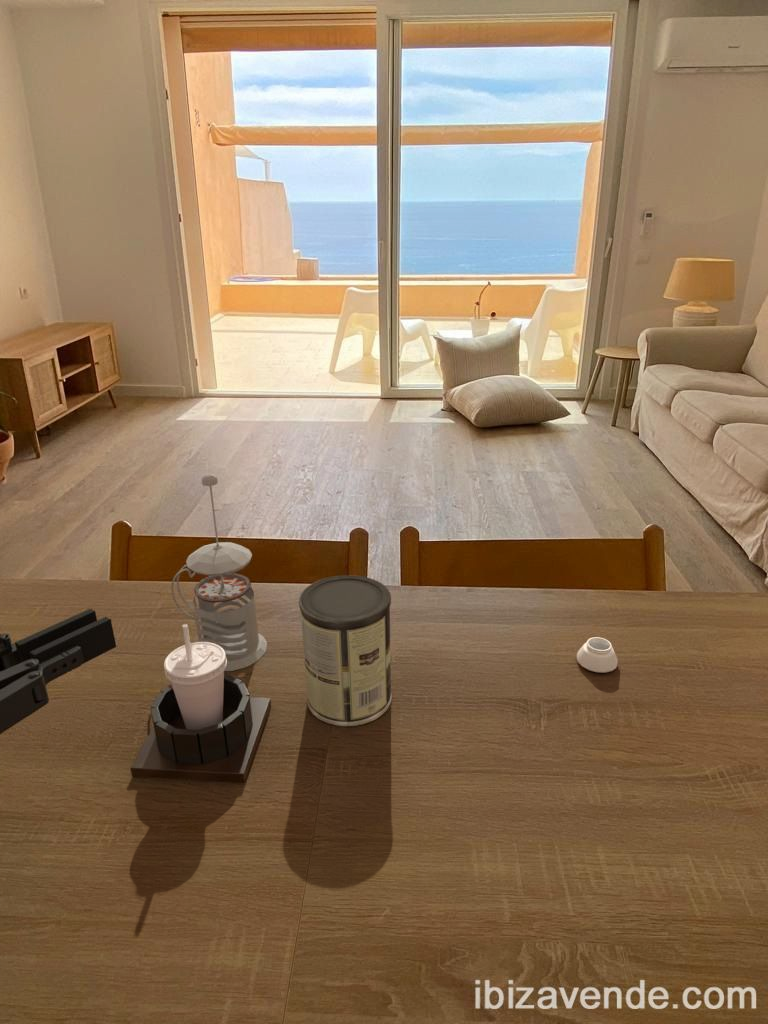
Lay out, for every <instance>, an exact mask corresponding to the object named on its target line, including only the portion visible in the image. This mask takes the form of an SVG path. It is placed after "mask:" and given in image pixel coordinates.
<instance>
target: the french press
mask: <svg viewBox="0 0 768 1024" xmlns="http://www.w3.org/2000/svg"><path fill="white" fill-rule="evenodd" d="M218 483H219V481H218V477H217V476H216V475H215V474H214V473H205V474H204V475H203V476H202V477H201V484H202V486H204V487H209V492H210V502H211V509H212V516H213V524H214V525H213V526H214V532H215V541H216V542H214V543H209V544H206V545H202V546H200V547H199V548H198V549H196V550H195V551H193V552H192V553H190V554H189V555H188V556H187V559H186V561H185V563H186V564H184V565H183V566H182V567H181V568H180V569H179V570H178V572H177V573H176V574H175V575H174V576H173V578H172V581H171V584H170V590H171V597H172V600H173V602H174V604H175V605H176V608H177V609H178V610H179V611H180V612H182V613H183V614H184V615H185V616H187V617H189V618H191V619H192V620H194V621H195V627H196V634H197V640H198V642H209V643H214V644H217V645H219V646H220V647H222V648H223V649H224V651H225V654H226V659H227V665H226V667H225V669H224V672H233V671H237V670H241V669H244V668H245V669H246V668H247V667H249V666H251V665H253V664H254V663H256V662H258V661H260V659H262V657H263V656H264V655H265V653H267V652H266V651H267V649H268V642H267V640H266V639H265V637H264V636H263V635H262V634H260V633H259V630H258V628H259V627H258V618H257V610H256V609H257V608H256V601H255V599H256V598H255V592H254V590H253V588H252V586H251V585H252V581H251V580H250V578H249V577H247V576H245V575H243V574H240V573H237V572H238V571H241V570H243V569H245V568H246V567H247V566H248V565H249V564H250V562H251V560H252V556H253V554H252V551H251V550H250V549H249V548H247V547H245V546H243V545H240V544H238V543H234V542H230V541H229V542H228V541H225V542H224V541H222V542H221V541H220V542H219V536H218V528H217V520H216V512H215V504H214V503H215V502H214V497H213V496H214V495H213V488H212V486H216V485H218ZM186 567H187V568H186ZM183 572H187V573H188V576H189V578H191V579H192V578H193V577H194V576H195V575H196V574H197V575H202V576H203V575H204V576H206V577H204V578H202V579H201V580H200V581H199V582H197V583H196V584H195V587H194V589H193V592H194V595H195V596H194V597H193V599H192V603H193V606H192V605H191V604H190V603H188V602H187V601H186V599H185V598H184V596H183V594H182V592H181V589H180V577H181V574H182V573H183ZM192 572H193V573H192ZM175 582H176V587H177V592H178V594H179V596H180V599H182V601H183V603H184V604H185V605H186V606H187V607H188V608H189V609H191V610H193V611H194V616H193V615H191V614H190V613H188V612H186V611H184V609H182V608H181V607H180V605H179V604H178V602H177V599H176V597H175V592H174V585H175ZM244 596H245V597H246V598H247V599H249V601H248V600H247V599H245V598H244ZM196 597H197V601H198V606H197V601H196ZM237 599H238V600H240V601H241V602H242V603H244V605H243V604H242V603H241V602H239V601H236V600H237ZM215 603H218V604H217V605H215ZM227 606H236V607H238V608H231V607H230V608H227V609H224V610H221V611H219V612H217V611H218V610H220V609H221V608H224V607H227ZM199 618H200V620H199ZM201 636H203V637H201Z"/></svg>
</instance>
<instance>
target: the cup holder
mask: <svg viewBox="0 0 768 1024" xmlns="http://www.w3.org/2000/svg"><path fill="white" fill-rule="evenodd" d="M271 708H272V700H271V697H257V696H256V697H255V696H251V695H250V693H249V691H248V688H247V686H246V684H245V682H243V680H241V679H239V678H237V677H235V676H232V675H231V674H228V673H225V672H224V688H223V722H221V723H219V724H216V725H213V726H209V727H206V728H203V729H199V730H191V729H186V726H185V723H184V720H183V717H182V714H181V711H180V708H179V705H178V702H177V699H176V696H175V693H174V690H173V687H172V684H171V683H170V684H169V685H167V686H166V687H164V688H163V689H161V690H160V692H158V693H157V695H156V697H155V699H154V701H153V703H152V704H151V706H150V715H151V719H152V727H151V730H150V731H149V734H148V735H147V737H146V739H145V741H144V743H143V744H142V747H141V748H140V750H139V751H138V753H137V755H136V757H135V759H134V761H133V762H132V764H131V766H130V773H131V777H136V778H154V779H171V780H173V779H174V780H191V781H208V782H209V781H210V782H227V783H228V782H229V783H246V780H247V777H248V775H249V774H248V773H249V771H250V768H251V766H252V762H253V760H254V756H255V754H256V751H257V748H258V745H259V742H260V740H261V737H262V736H261V735H262V734H263V731H264V727H265V725H266V722H267V719H268V716H269V713H270V711H271Z"/></svg>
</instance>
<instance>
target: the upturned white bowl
mask: <svg viewBox="0 0 768 1024" xmlns="http://www.w3.org/2000/svg"><path fill="white" fill-rule="evenodd" d="M576 661H577V663H578V664H579V665H580V666H581V667H582V668H584V669H585V670H588V671H591V672H595V673H609V672H613V671H614V670H615V669H617V667H618V664H619V659H618V657H617V654H616V652H615V650H614V648H613V645H612V642H610V640H608V639H606V638H604V637H599V636H596V637H594V636H593V637H589V638H588V639H587V640H586V642H585V643H584V644H583V645H581V647H580V649H579V650H578V651H577V653H576Z"/></svg>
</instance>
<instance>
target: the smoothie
mask: <svg viewBox="0 0 768 1024" xmlns="http://www.w3.org/2000/svg"><path fill="white" fill-rule="evenodd" d="M181 628H182V634H183V640H184V644H183V645H181V646H179V647H177V648H175V649H173V650H172V651H171V652H170V653H169V654H168V655H167V656H166V658H165V659H164V662H163V668H164V675H165V677H166V678H167V680H169V681H170V685H171V684H172V687H173V690H174V693H175V696H176V699H177V702H178V705H179V708H180V711H181V714H182V717H183V720H184V723H185V726H186V729H191V730H199V729H203V728H206V727H209V726H213V725H216V724H219V723H221V722H223V688H224V673H225V671H224V669H225V667H226V665H227V659H226V654H225V651H224V649H223V648H222V647H220V646H219V645H217V644H214V643H209V642H199V641H196V642H191V637H190V631H189V625H188V624H187V623H184V624H182V627H181Z"/></svg>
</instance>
